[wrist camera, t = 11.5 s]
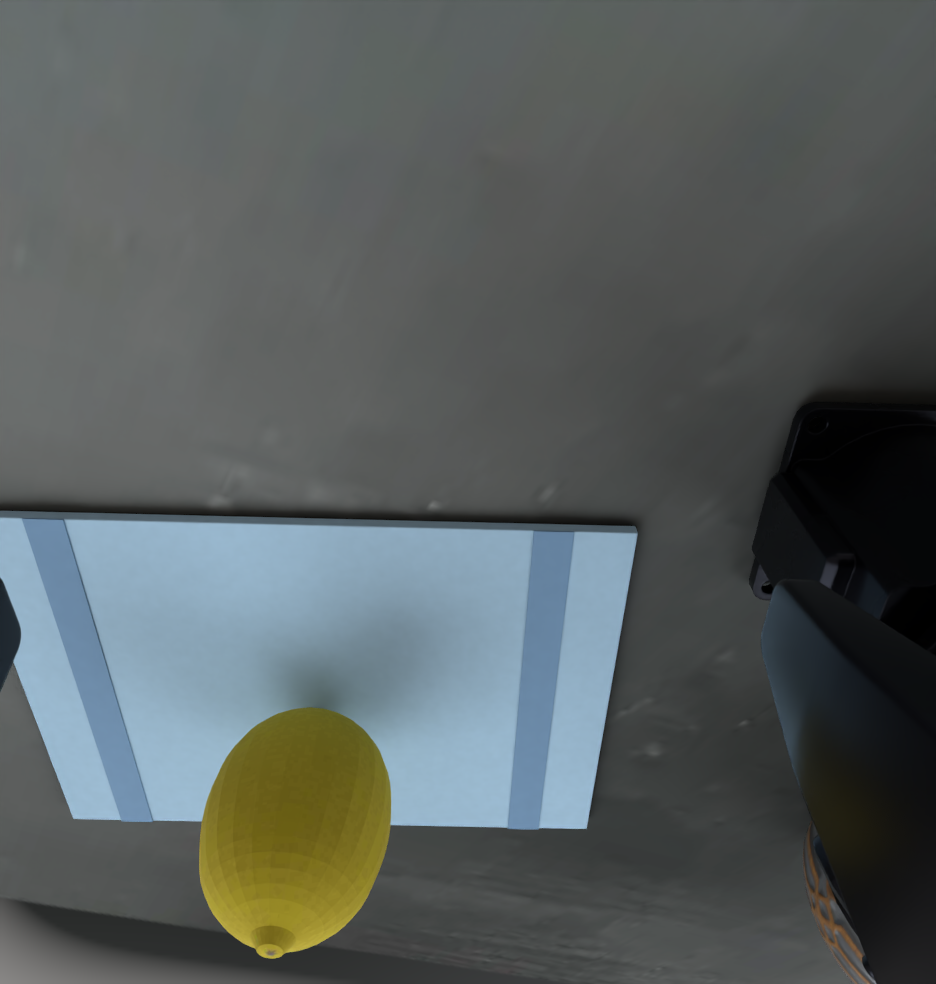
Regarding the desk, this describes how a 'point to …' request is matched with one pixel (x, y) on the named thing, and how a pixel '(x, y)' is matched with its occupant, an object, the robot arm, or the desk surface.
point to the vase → (832, 916)
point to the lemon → (295, 830)
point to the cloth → (320, 654)
